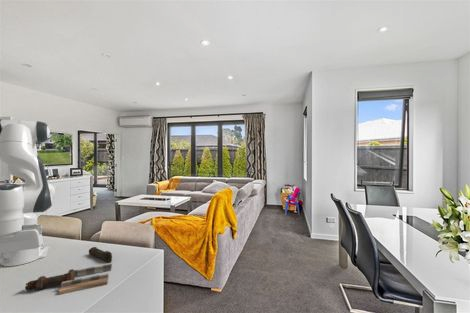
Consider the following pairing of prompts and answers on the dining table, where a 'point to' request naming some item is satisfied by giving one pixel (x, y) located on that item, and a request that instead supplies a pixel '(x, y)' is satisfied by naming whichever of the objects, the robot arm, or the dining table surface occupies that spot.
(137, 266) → the dining table surface
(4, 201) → the robot arm
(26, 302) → the dining table surface
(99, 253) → the carved wooden phallus
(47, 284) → the bolt
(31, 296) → the dining table surface
